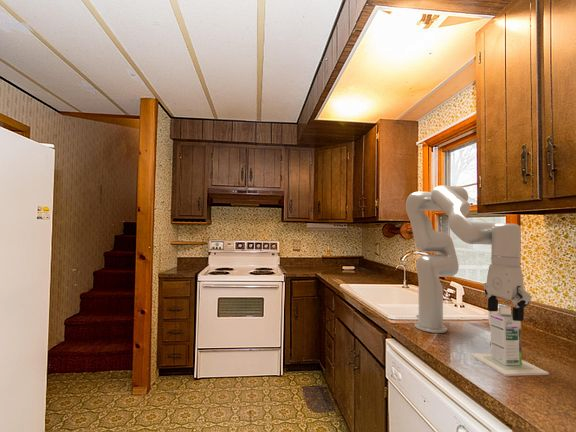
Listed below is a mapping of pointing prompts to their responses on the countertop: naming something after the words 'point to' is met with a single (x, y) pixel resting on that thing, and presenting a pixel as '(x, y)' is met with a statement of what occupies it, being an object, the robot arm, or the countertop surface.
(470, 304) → the countertop surface
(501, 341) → the syrup box
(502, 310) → the beer glass
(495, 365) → the tile
